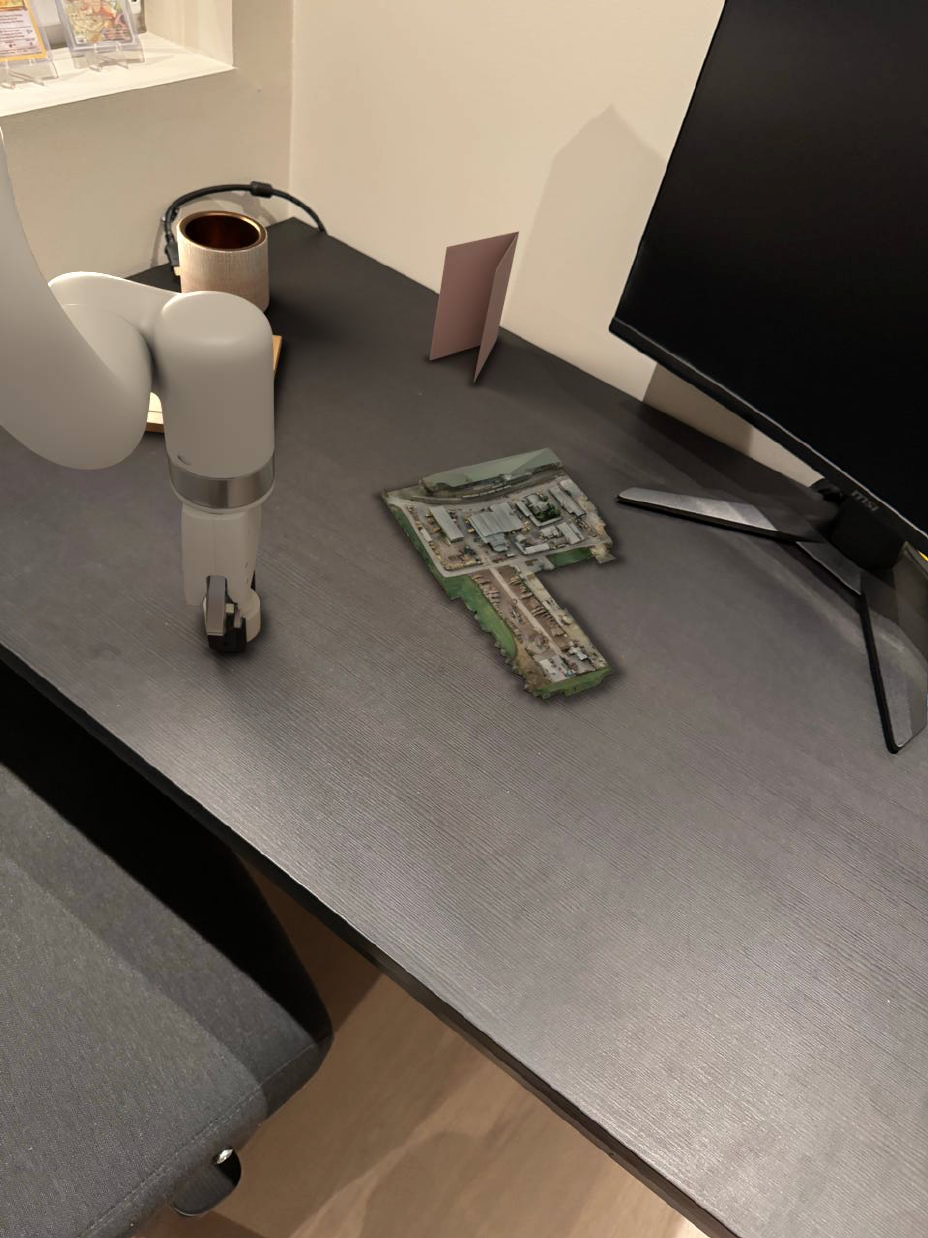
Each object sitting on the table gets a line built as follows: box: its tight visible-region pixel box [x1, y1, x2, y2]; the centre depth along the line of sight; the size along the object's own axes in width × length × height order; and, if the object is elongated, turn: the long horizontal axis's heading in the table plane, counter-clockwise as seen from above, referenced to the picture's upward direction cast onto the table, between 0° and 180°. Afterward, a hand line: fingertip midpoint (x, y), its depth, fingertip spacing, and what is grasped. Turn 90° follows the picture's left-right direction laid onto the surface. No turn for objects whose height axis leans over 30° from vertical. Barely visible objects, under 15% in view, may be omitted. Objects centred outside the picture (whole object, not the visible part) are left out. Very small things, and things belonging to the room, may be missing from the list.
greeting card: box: [429, 230, 520, 383], centre depth 105 cm, size 11×7×15 cm, turn 129°
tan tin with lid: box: [202, 588, 262, 643], centre depth 74 cm, size 5×5×4 cm
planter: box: [176, 209, 270, 314], centre depth 106 cm, size 11×11×10 cm
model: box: [381, 447, 617, 701], centre depth 86 cm, size 21×30×2 cm
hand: (233, 622), depth 76 cm, fingers closed on tan tin with lid, 4 cm apart
